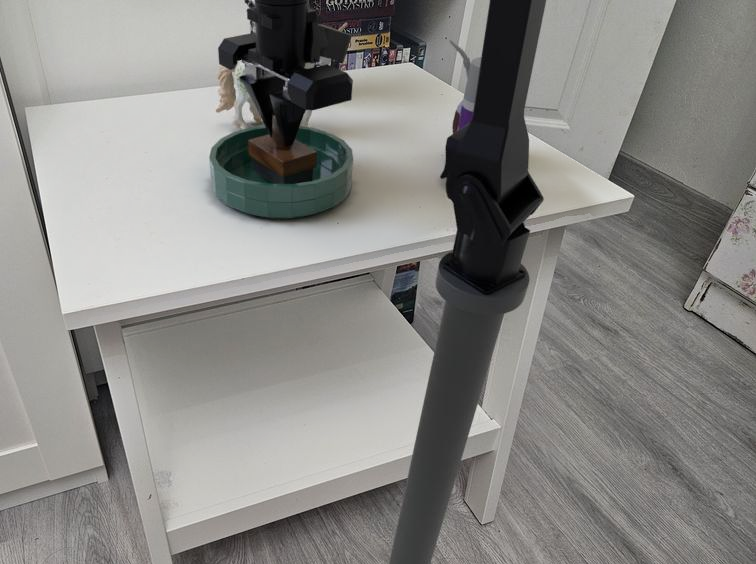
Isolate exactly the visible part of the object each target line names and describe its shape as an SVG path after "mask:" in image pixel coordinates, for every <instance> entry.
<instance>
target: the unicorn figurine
mask: <svg viewBox="0 0 756 564" xmlns="http://www.w3.org/2000/svg"><path fill="white" fill-rule="evenodd" d="M347 26H348V22H345V23H343V24H342V25H341V26H340V27H339V28H338V29H337V30H339V31H342V32H343V31H344V30H345V28H347ZM331 62H332V60H331V59H329V58H325V57H321V56H320V62H319V66H322V65H326V64H328V65H330V64H331ZM237 63H238V64H237V66H236V67H235V69H232V70H229V69H227V68H226V67H224V66H222V65H220V67H219V68H218V71H219V73H218V75H217V80H218V86H219V87H220V88H219V89H218V90H217V93H218V96H220V99H219V102H220V103H219V105H218V108H216V109H215V112H216V113H217V114H218V113H221V112H223V111H230V110H231V109H232V108H233V107H234V113H235V114H234V115H233V117H232V118H233V120H232V124H233V126H235V128H236V129H239V128H240V130H243V129H247V128H251V126H250V124H249V123H247V122H246V121H245V120H244V117H243V107H244V105H245V103H248V105H249V111H250V113H251V114H252V116H253V120H254V121H255V122H256V124H261V123H262V118H261V116H260V114H259V112H258V110H257V108H256V106H255V105H254V103H253V101H252V99H251V97H250V95H249V93H248V92H247V90H246V88H245V86H244V84H243V83H242V82H240V79H239V77H240V76H243V75H245V64H244V63H242V61H241V62H240V61H239V62H237ZM315 65H316V63H312V64H311V63H305V67H304V68H305V69H309V68H314V67H315ZM233 73H234V75H233ZM235 86H236V87H235ZM236 88H237V90H238V97H237V90H236ZM312 114H313V110H306V111H305V114H304V116H303V119H302V121H301V124H300V126H304V127H308V125H309V121H310V119H311V116H312Z"/></svg>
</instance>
